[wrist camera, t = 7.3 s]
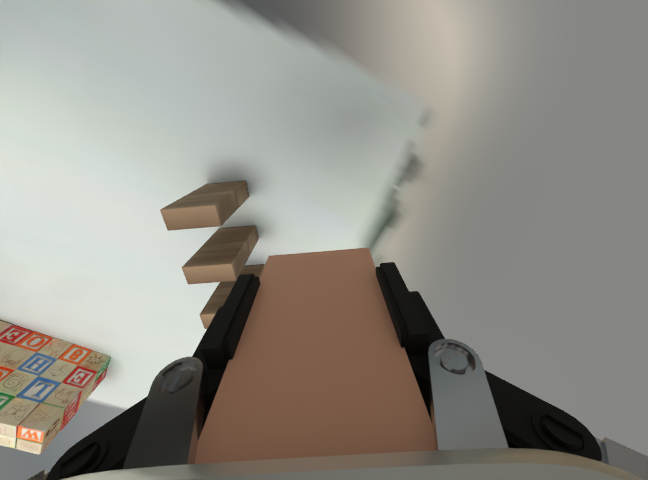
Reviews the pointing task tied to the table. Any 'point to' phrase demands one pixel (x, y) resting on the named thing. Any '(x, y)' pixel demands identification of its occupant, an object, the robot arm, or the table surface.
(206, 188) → the domino
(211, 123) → the table surface
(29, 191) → the table surface
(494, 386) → the robot arm
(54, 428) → the stack of blocks
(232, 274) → the domino
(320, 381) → the end domino
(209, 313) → the domino
